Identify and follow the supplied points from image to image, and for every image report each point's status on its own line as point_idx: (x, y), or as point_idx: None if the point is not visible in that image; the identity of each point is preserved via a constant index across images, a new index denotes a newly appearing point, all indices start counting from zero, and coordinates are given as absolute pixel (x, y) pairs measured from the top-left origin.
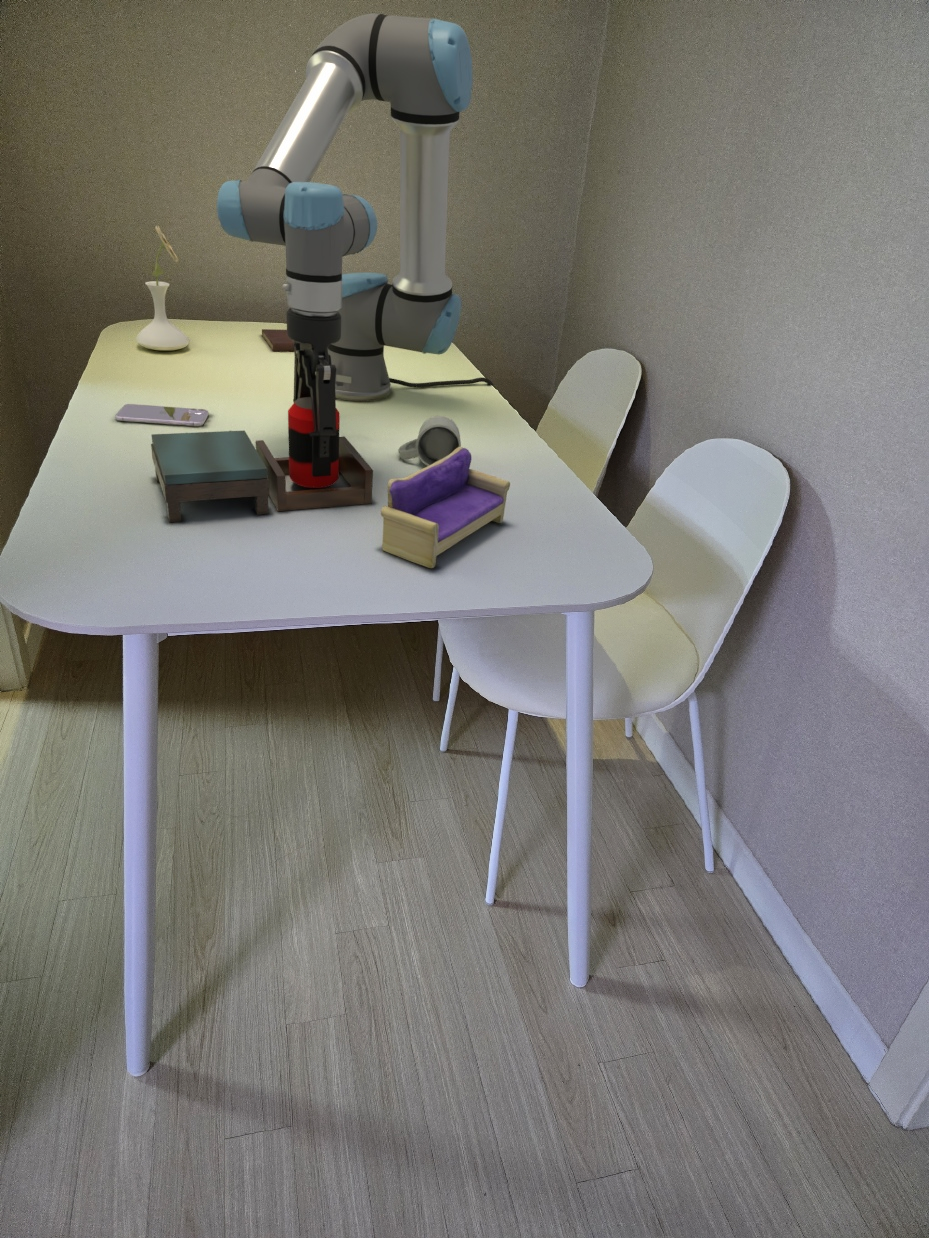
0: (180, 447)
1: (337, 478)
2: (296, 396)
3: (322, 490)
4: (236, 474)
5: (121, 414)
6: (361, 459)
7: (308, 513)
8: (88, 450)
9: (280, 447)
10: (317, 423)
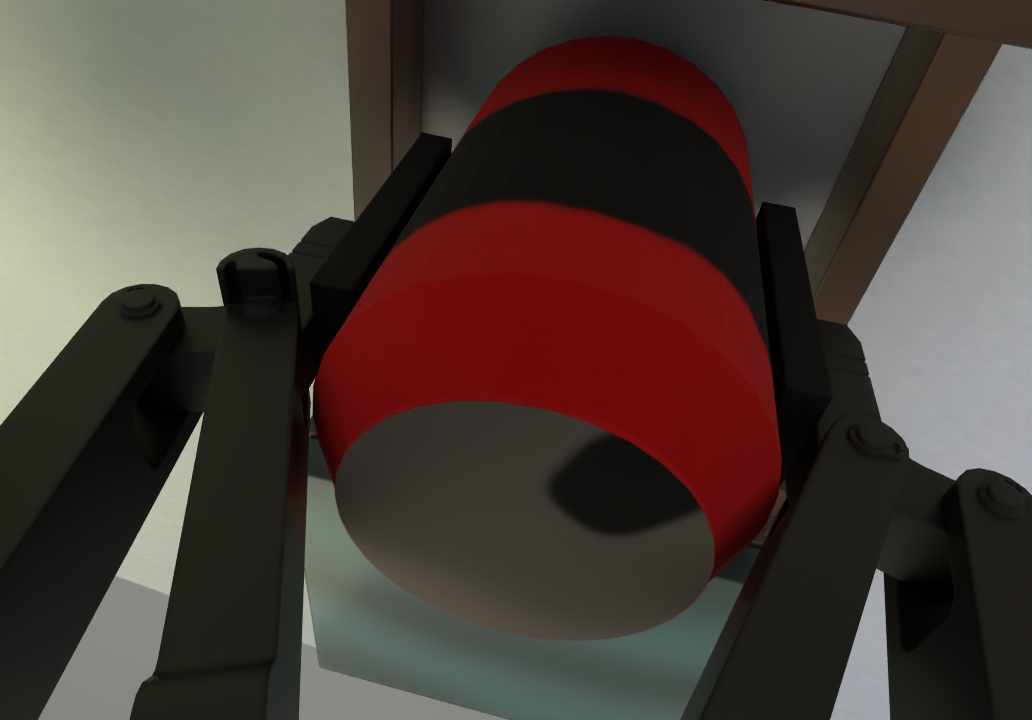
0: (454, 670)
1: (717, 89)
2: (180, 446)
3: (850, 268)
4: None
5: None
6: None
7: (869, 310)
8: (173, 565)
9: (64, 76)
10: (889, 629)
